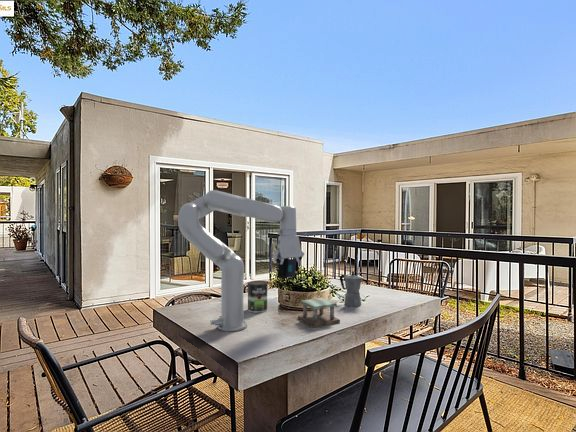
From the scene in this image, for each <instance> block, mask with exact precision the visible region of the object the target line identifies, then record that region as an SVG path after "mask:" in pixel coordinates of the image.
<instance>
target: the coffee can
mask: <svg viewBox="0 0 576 432" xmlns="http://www.w3.org/2000/svg"><path fill="white" fill-rule="evenodd" d="M268 284H269V283H268V281H263V280H253V281H249V282H247V311H248V312H249V313H257V314H259V313H265V312H267V311H268Z"/></svg>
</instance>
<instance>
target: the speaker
mask: <svg viewBox="0 0 576 432" xmlns="http://www.w3.org/2000/svg"><path fill="white" fill-rule="evenodd" d="M279 257H280V256H279ZM279 257H278V258H279ZM277 264H278V263H277ZM283 264H284V273H281V271H279V264H278V266H277V278H278V279H286V280H288V278H295V277H296V271H295V268H296V259H293V258H286V259H284V261H283Z"/></svg>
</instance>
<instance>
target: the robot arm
mask: <svg viewBox="0 0 576 432" xmlns="http://www.w3.org/2000/svg"><path fill="white" fill-rule="evenodd" d="M215 211H217V212H220V213H221V212H222V213H225V214H230V215H232V216H233V215H235V216H237V217H242V218H253V219H257V220H261V221H265V222H267V223H273V224H274V223H278V222H279V230H277V234H278V235H279V236H278V239H277V250H276V251H275V253H274V254H272V258H273V259H274V260H275V261H276V262H277V264H279V271H281V273H284V264H283V261H284V259H286V258H289V259H296V268H295V272H299V270H300V264H299V263H300V262H301V260H302V259H303V257H304V256H305V252H303V251H302V250H301V243H300V238H299V235H297V209H296V207H295V206H293V205H284V206H283V205H281V206H278V205H275V204H271V203H267V202H263V201H260V200H256V199H251V198H249V197H245V196H240V195H236V194H232V193H229V192H225V191H221V190H217V189H216V190H215V189H211V190H209V191H208V192H207V193H205V194H204V195H202V196H201V197H198V198H196V199H195V200H192V201H190V202H186V203H184V204H183V205H182V206H181V207H180V210H179V211H178V219H177V224H178V225H177V226H178V229H179V231H180V233H181V235H182V236H183V238H185V239H186V240H187V241H188V242H189V243H190V244H191V245H193V246H194V247H195V249H197V250H198V251H199V252H200V253H201V254H202V255H203V256H204V257H205V258H206V259H208V260H210V261H211V262H212V263H214V264H215V265H216V266H217V267H218V268H219V269H220V270H221V278H220V279H221V284H220V285H221V287H220V288H221V289H220V292H221V296H220V297H221V299H220V300H221V301H220V302H221V303H220V307H221V310H220V311H221V316H219V318H217V319H211V320H210V321H209V322H210V323H209V324H210V325H213V326H217V329H219V330H220V331H223V332H237V331H242V330H244V329H246V328H247V327H248V323H247V322H246V321H244V277H245V264H244V260H243V259H242V257H240V256H239V255H238V254H236V253H235V252H234V251H233V250H232V249H231V248H230V247H229V246H227V244H225V243H224V242H223V241H221V239H219V238H217V237H215V236H214V235H213V234H212V233H210V232H209V231H208V229H206V228H205V227H204V226H203V225H202V223H201V222H200V219H202V218H204V217H206V216H207V215H209V214H211V213H213V212H215ZM279 256H280V257H279Z"/></svg>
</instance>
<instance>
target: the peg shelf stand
mask: <svg viewBox="0 0 576 432" xmlns="http://www.w3.org/2000/svg"><path fill="white" fill-rule="evenodd" d="M300 304H301V305H302V307H303V308H302V310H303V311H302V314H301V315H300V314H299V315H297V320H299V321H301V322H303V323H304V324H306V325H308V326H310V327H312V328H319V327H325V326H330V325H336V324H340V323H341V319H339V318H337V317H335V307H337V306H338V304H337V303H336V302H333V301H331V300H329V299H326V298H324V297H320V298H319V297H317V298H312V299H311V298H309V299H304V300H303V299H302V300H300ZM308 308H311V309H312V310H313V312H312V313H308ZM325 308H326V309H327V308H329V313H327V312H324V309H325ZM318 310H319V312H318Z"/></svg>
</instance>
